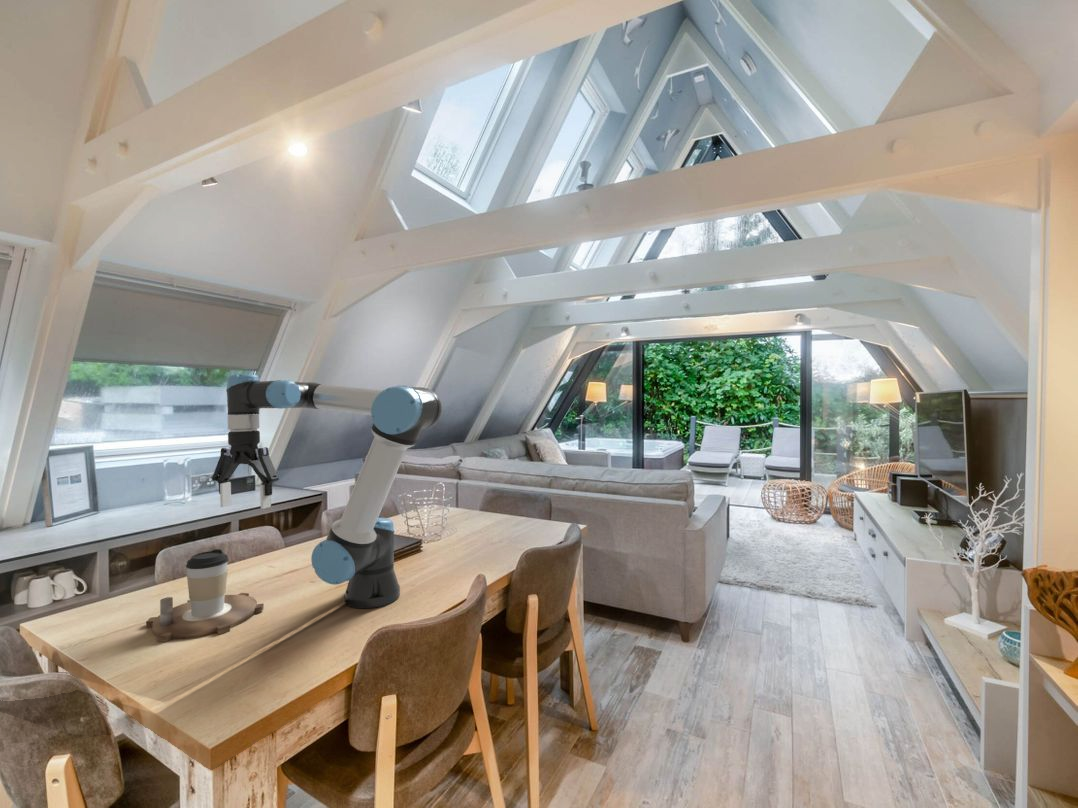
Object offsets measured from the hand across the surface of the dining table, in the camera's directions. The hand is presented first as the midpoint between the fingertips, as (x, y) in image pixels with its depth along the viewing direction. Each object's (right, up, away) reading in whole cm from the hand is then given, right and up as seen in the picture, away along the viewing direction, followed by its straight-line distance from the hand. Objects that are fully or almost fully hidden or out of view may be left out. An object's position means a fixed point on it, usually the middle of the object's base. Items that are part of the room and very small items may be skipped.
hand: (245, 507), depth 133 cm
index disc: (-4, -27, -10) cm, 28 cm away
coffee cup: (-4, -25, -10) cm, 27 cm away
